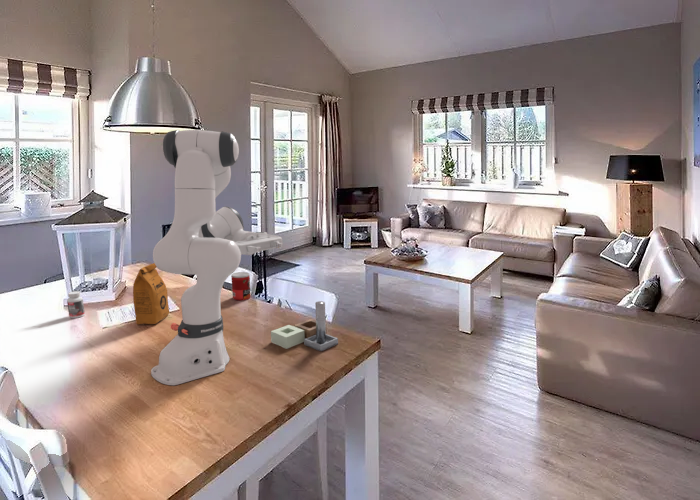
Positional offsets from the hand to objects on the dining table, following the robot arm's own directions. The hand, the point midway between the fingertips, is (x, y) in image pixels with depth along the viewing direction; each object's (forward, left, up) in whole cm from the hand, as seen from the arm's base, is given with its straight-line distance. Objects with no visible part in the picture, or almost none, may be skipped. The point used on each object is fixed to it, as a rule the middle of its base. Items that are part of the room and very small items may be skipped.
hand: (270, 247), depth 161 cm
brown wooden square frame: (+4, -16, -30) cm, 34 cm away
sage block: (-5, -14, -30) cm, 34 cm away
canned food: (+13, +39, -30) cm, 51 cm away
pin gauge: (+1, -24, -29) cm, 38 cm away
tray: (+1, -24, -30) cm, 38 cm away
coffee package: (-26, +41, -30) cm, 57 cm away
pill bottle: (-44, +69, -30) cm, 87 cm away
